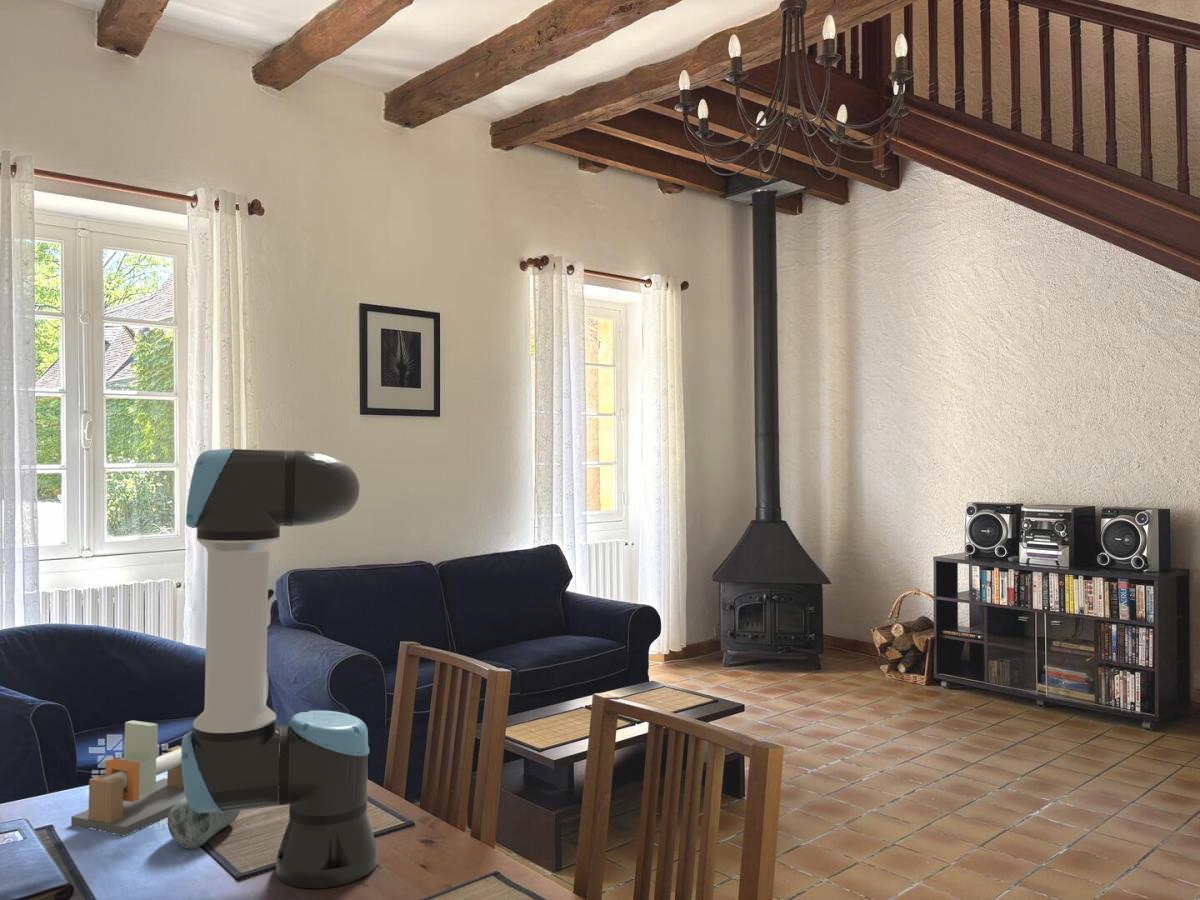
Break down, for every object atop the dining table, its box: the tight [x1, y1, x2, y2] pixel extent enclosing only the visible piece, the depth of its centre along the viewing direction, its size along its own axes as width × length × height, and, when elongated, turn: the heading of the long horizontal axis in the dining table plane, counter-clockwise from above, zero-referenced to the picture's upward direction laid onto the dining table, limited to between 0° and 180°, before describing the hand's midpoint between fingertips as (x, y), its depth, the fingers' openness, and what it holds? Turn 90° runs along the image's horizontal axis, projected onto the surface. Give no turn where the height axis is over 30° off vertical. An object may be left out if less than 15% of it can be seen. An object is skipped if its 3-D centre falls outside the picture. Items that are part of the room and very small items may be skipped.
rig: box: [70, 745, 186, 836], centre depth 161 cm, size 12×20×9 cm, turn 160°
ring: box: [105, 757, 140, 802], centre depth 156 cm, size 6×1×6 cm, turn 70°
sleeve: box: [117, 720, 159, 796], centre depth 158 cm, size 6×4×12 cm, turn 71°
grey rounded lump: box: [166, 796, 241, 850], centre depth 150 cm, size 14×10×10 cm
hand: (228, 673), depth 172 cm, fingers closed
